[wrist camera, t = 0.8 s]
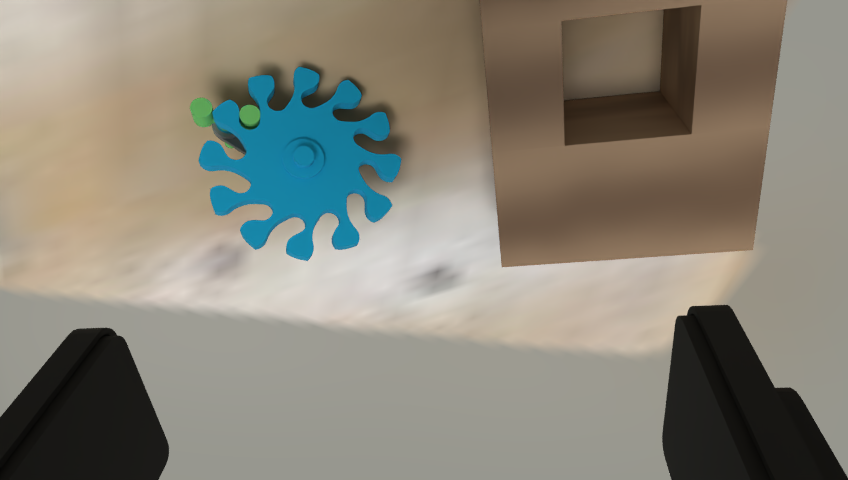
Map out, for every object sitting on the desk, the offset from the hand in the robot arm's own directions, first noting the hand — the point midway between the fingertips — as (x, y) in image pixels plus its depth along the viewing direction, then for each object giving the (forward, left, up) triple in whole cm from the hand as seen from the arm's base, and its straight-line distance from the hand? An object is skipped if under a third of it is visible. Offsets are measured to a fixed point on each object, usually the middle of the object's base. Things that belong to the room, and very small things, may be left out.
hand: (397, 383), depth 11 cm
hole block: (+2, +8, -26) cm, 27 cm away
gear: (+5, -8, -26) cm, 28 cm away
